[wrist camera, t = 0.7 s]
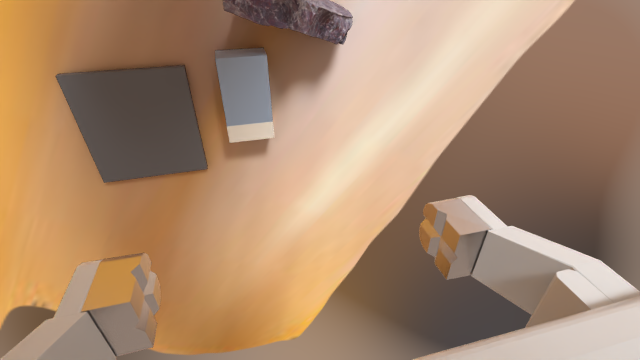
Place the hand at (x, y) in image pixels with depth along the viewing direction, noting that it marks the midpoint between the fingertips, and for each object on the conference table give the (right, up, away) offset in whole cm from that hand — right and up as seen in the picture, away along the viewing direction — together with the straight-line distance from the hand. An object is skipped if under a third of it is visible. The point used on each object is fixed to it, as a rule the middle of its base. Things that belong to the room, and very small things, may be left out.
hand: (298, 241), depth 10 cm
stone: (-4, +23, +31) cm, 39 cm away
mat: (-23, +9, +35) cm, 43 cm away
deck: (-10, +14, +36) cm, 40 cm away
